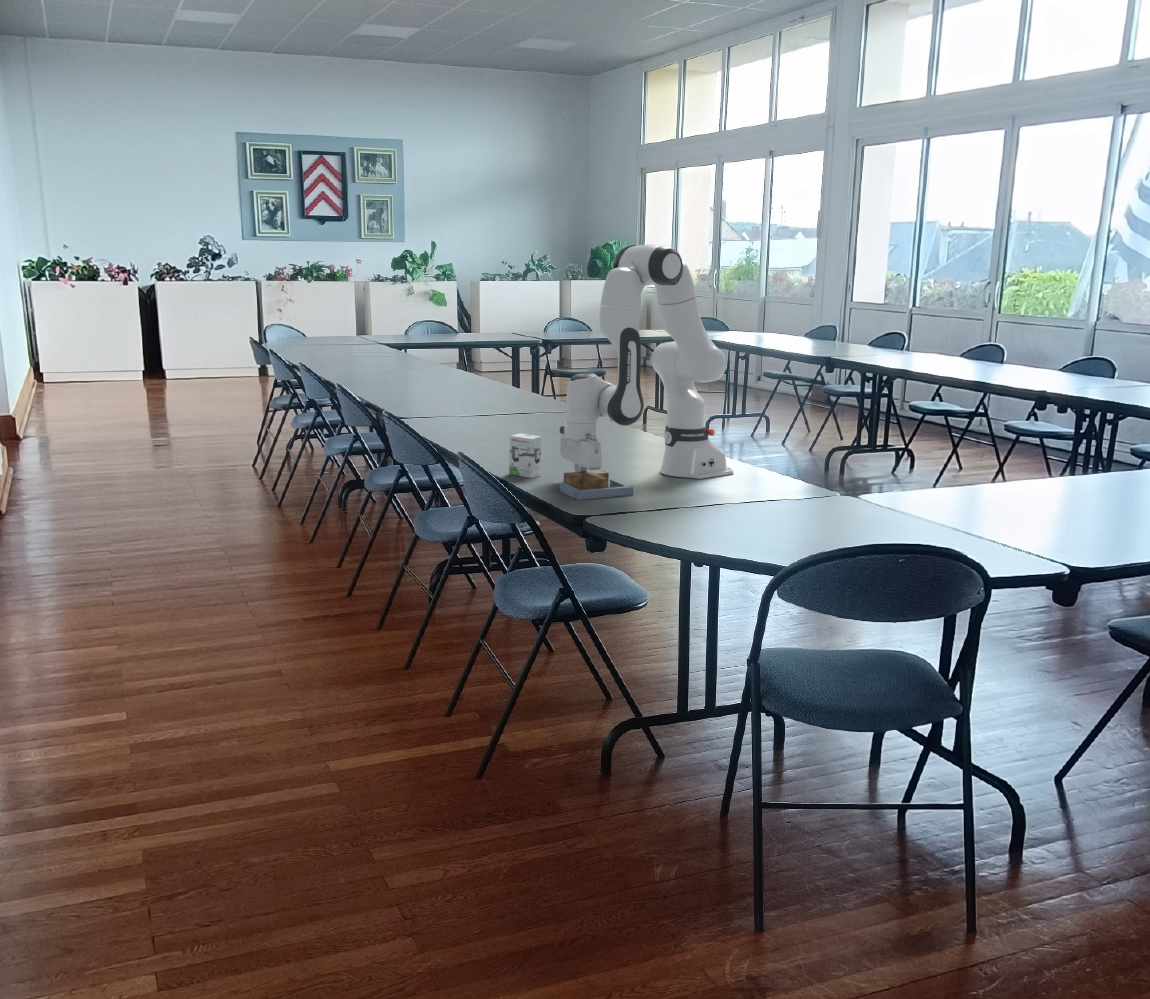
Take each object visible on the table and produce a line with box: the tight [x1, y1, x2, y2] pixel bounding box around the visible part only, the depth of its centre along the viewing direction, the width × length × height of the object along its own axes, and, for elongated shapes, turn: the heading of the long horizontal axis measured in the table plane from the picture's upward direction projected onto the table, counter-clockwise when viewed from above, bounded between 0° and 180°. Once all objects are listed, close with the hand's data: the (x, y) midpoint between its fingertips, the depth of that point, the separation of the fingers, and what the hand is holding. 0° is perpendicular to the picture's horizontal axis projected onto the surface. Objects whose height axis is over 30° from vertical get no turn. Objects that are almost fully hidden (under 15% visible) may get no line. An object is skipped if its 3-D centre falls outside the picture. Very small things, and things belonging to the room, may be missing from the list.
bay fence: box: [559, 478, 635, 501], centre depth 289 cm, size 17×11×2 cm, turn 116°
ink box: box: [508, 432, 542, 479], centre depth 310 cm, size 9×5×12 cm, turn 57°
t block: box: [563, 469, 610, 490], centre depth 291 cm, size 12×11×4 cm
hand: (579, 479), depth 298 cm, fingers closed
